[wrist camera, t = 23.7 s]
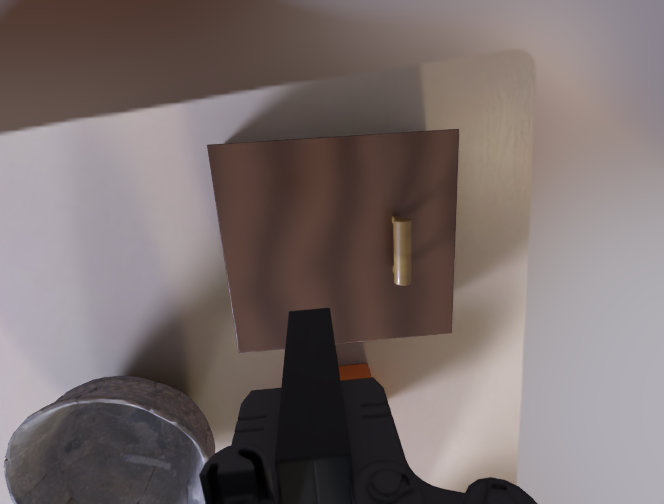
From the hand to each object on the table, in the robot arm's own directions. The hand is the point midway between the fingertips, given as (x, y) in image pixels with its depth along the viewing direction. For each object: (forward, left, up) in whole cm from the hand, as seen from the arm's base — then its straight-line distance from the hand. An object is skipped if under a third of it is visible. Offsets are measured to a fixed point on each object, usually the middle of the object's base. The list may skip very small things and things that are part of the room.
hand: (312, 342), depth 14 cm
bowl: (+22, +25, -29) cm, 44 cm away
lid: (-3, +3, -23) cm, 23 cm away
